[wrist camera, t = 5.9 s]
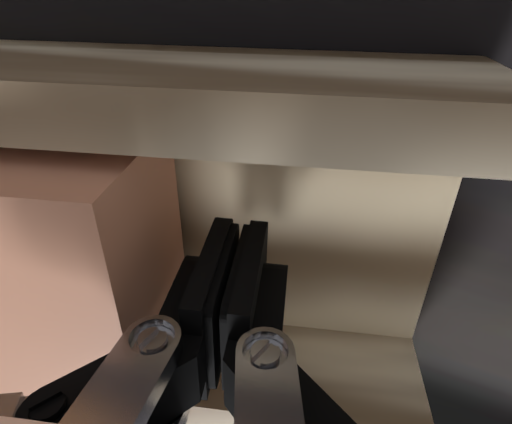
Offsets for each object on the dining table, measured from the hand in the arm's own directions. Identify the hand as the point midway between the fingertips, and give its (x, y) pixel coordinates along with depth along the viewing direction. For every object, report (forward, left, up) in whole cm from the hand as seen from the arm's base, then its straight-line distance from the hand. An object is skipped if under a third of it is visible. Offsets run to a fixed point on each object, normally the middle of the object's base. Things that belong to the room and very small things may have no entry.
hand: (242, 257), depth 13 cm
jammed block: (0, +5, -1) cm, 6 cm away
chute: (0, +5, -3) cm, 6 cm away
